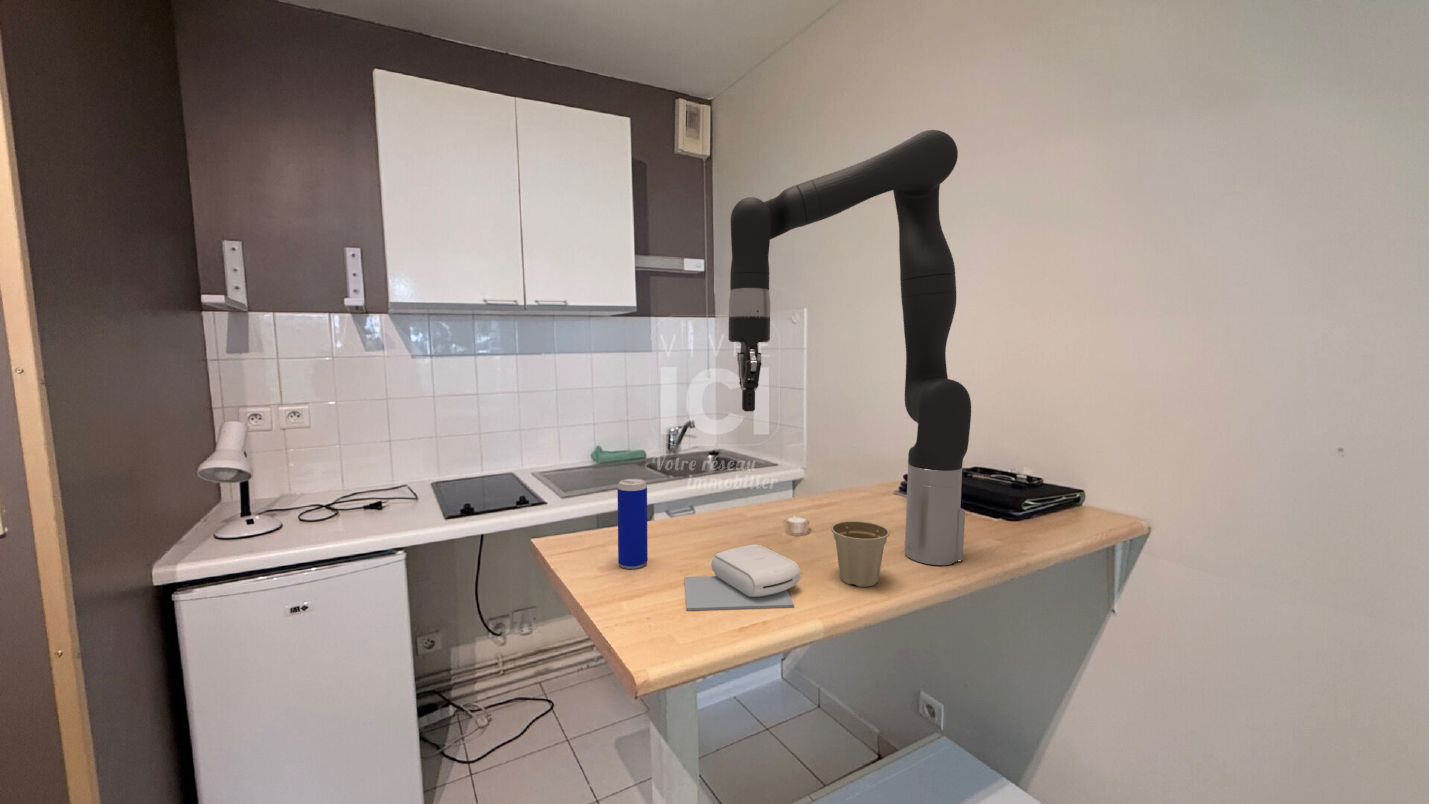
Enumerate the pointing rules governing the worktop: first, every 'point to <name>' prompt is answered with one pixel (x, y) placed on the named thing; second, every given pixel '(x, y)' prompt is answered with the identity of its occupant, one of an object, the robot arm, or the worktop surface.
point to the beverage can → (632, 523)
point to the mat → (727, 596)
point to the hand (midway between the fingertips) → (748, 410)
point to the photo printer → (756, 570)
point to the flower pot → (859, 551)
